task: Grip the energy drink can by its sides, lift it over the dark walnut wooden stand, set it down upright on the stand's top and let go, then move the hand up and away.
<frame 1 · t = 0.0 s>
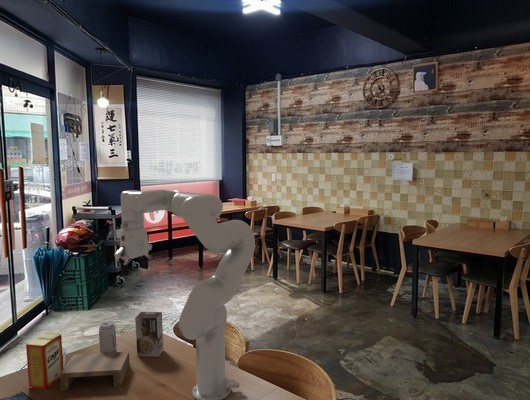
hand: (135, 271, 156), 37 cm above the table, tool pointing down, fingers open, 9 cm apart
walnut stand: (97, 377, 155), on the table
baking soda box: (47, 382, 152), on the table
energy drink can: (108, 361, 167), on the table
coffee box: (150, 353, 174), on the table
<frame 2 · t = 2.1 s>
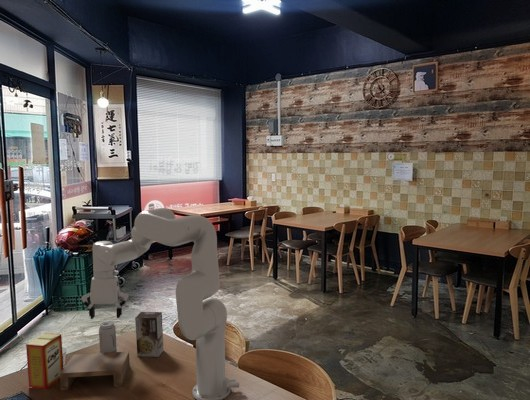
hand: (105, 317, 165), 17 cm above the table, tool pointing down, fingers open, 9 cm apart
nothing on the table moved.
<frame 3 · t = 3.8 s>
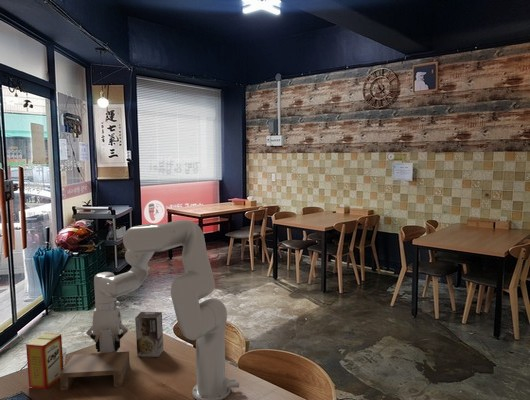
hand: (108, 349, 167), 5 cm above the table, tool pointing down, fingers closed on energy drink can, 6 cm apart
energy drink can: (108, 361, 167), on the table, touching gripper
everything else where it was.
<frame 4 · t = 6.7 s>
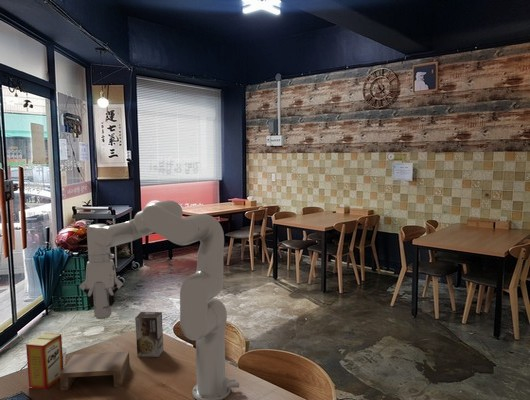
hand: (102, 304, 160), 24 cm above the table, tool pointing down, fingers closed on energy drink can, 6 cm apart
energy drink can: (103, 317, 161), point 19 cm above the table, touching gripper
everything else where it was.
when the fingers open (12 cm above the table, at t = 9.5 s): energy drink can drops 1 cm, resting on walnut stand.
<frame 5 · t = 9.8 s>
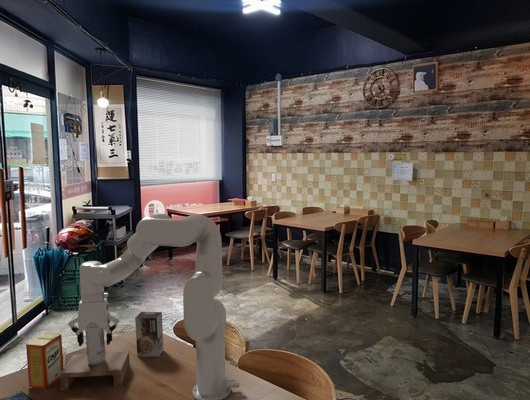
hand: (95, 343, 153), 13 cm above the table, tool pointing down, fingers open, 9 cm apart
energy drink can: (96, 362, 154), point 6 cm above the table, touching walnut stand
everything else where it was.
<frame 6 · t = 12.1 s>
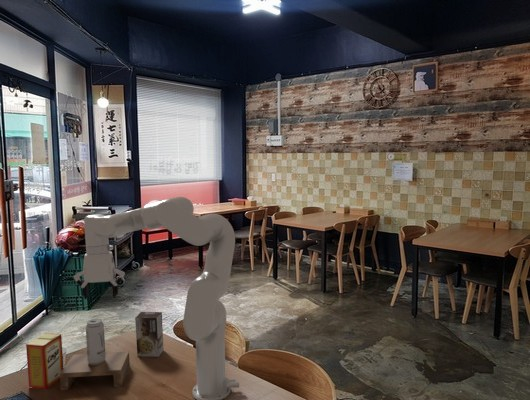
hand: (100, 297, 153), 29 cm above the table, tool pointing down, fingers open, 9 cm apart
nothing on the table moved.
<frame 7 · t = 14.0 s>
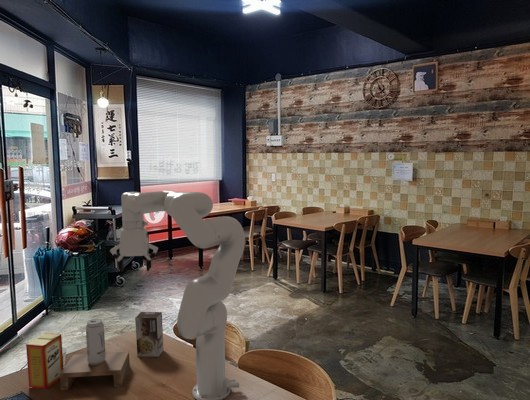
hand: (135, 270, 162), 36 cm above the table, tool pointing down, fingers open, 9 cm apart
nothing on the table moved.
at the end: energy drink can inside the target area on the walnut stand (0.2 cm from its centre), point 5.8 cm above the walnut stand's base; energy drink can tilted 0°; the gripper is holding nothing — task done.
